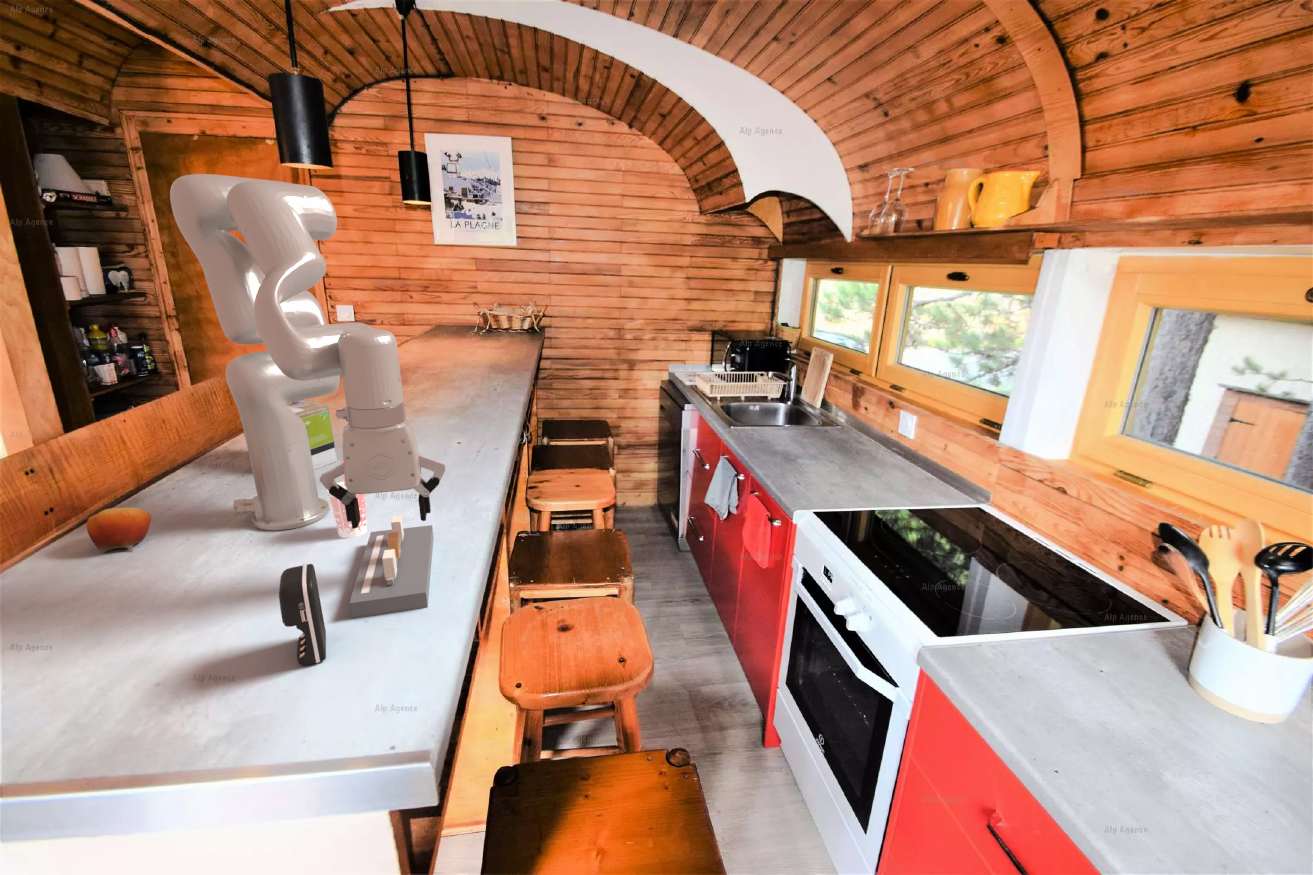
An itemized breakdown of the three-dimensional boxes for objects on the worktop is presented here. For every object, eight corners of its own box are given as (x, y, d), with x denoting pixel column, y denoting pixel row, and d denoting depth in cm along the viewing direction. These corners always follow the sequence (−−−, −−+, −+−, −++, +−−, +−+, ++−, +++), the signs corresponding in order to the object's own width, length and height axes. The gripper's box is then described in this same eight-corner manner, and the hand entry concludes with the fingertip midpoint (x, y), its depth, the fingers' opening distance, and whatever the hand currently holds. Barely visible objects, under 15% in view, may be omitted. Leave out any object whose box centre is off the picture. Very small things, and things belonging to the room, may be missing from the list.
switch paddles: (385, 585, 84) (381, 561, 83) (395, 535, 98) (393, 514, 97) (395, 583, 84) (392, 559, 83) (404, 534, 99) (402, 513, 98)
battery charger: (293, 639, 76) (278, 564, 73) (326, 631, 78) (312, 557, 74) (291, 672, 70) (274, 592, 67) (326, 662, 72) (312, 584, 69)
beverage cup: (378, 525, 108) (368, 455, 103) (359, 541, 102) (348, 467, 97) (347, 523, 108) (336, 453, 104) (326, 538, 102) (314, 465, 98)
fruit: (77, 558, 91) (75, 508, 93) (100, 560, 98) (97, 514, 100) (143, 547, 95) (140, 500, 96) (160, 551, 102) (157, 506, 103)
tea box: (255, 465, 135) (242, 404, 130) (295, 452, 143) (284, 394, 139) (300, 475, 129) (289, 412, 125) (339, 461, 138) (329, 402, 134)
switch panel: (351, 618, 81) (349, 602, 80) (372, 544, 101) (370, 531, 100) (427, 606, 84) (425, 591, 83) (433, 537, 104) (432, 524, 103)
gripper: (303, 426, 78) (323, 539, 83) (439, 418, 83) (449, 525, 89) (316, 412, 85) (333, 516, 90) (440, 405, 90) (449, 505, 95)
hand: (390, 520), depth 89 cm, fingers open, 9 cm apart
